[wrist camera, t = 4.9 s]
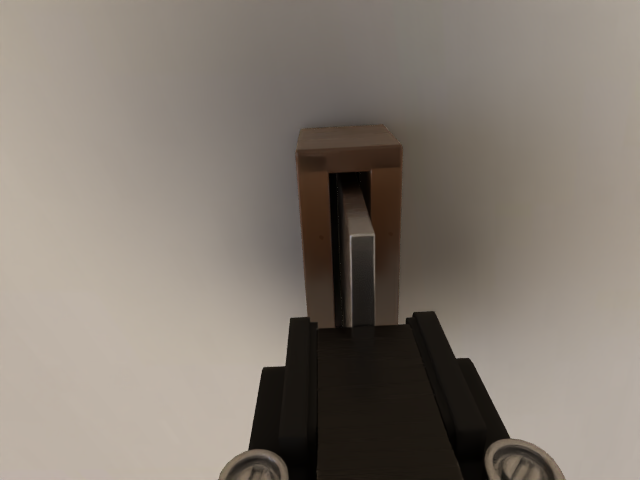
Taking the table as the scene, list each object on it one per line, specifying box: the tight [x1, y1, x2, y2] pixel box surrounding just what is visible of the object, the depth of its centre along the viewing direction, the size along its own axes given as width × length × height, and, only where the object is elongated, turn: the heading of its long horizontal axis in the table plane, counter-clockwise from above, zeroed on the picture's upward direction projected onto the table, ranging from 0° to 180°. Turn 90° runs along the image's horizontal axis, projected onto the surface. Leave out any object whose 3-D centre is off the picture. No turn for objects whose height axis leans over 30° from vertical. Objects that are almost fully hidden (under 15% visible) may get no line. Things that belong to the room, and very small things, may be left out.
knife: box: [316, 172, 464, 480], centre depth 13 cm, size 8×2×13 cm, turn 3°
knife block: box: [295, 124, 403, 329], centre depth 17 cm, size 10×3×4 cm, turn 3°
